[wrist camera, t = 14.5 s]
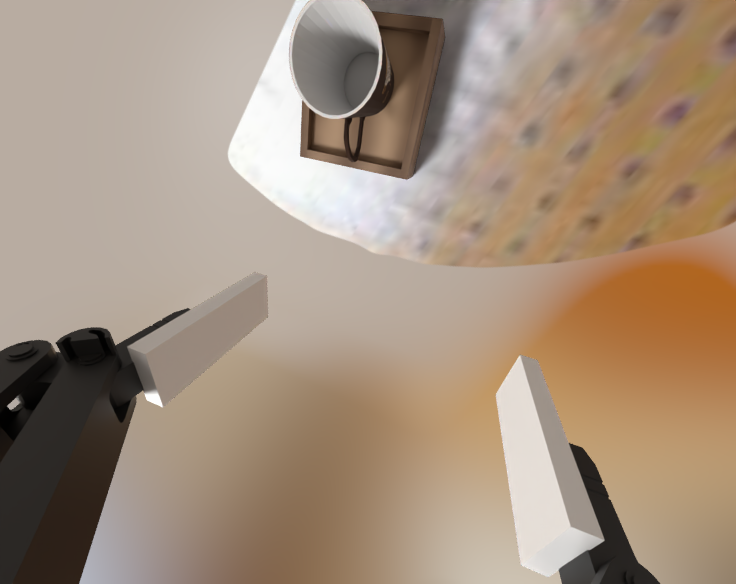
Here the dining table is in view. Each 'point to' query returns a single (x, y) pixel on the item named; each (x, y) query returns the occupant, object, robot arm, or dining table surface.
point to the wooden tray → (402, 113)
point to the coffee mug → (340, 63)
